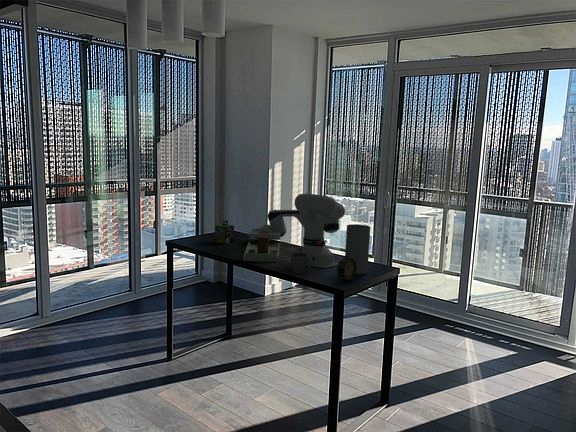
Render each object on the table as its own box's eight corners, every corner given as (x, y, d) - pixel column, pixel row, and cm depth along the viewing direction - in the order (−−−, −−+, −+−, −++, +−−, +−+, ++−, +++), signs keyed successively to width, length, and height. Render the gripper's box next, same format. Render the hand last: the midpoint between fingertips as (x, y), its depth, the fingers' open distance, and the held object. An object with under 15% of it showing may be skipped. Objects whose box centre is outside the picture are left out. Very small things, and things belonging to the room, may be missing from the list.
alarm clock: (343, 284, 239) (345, 252, 236) (334, 282, 243) (336, 250, 240) (356, 280, 247) (357, 249, 244) (347, 277, 251) (349, 247, 248)
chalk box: (224, 240, 327) (224, 218, 325) (234, 242, 322) (234, 220, 320) (214, 242, 320) (214, 220, 318) (224, 244, 315) (224, 222, 312)
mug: (287, 272, 257) (287, 254, 255) (296, 268, 264) (297, 251, 262) (306, 276, 250) (306, 258, 248) (315, 273, 257) (316, 255, 256)
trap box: (248, 246, 312) (248, 239, 312) (279, 247, 312) (279, 240, 312) (243, 260, 277) (243, 253, 276) (278, 261, 277) (278, 254, 276)
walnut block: (258, 251, 293) (259, 232, 291) (268, 252, 293) (269, 232, 291) (256, 257, 279) (257, 237, 277) (267, 258, 279) (267, 237, 277)
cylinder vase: (347, 267, 271) (350, 223, 266) (369, 270, 266) (372, 225, 262) (341, 273, 259) (343, 227, 255) (364, 276, 255) (367, 229, 250)
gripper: (281, 239, 319) (280, 244, 305) (249, 238, 319) (247, 243, 305) (281, 229, 317) (280, 234, 304) (250, 228, 318) (248, 233, 304)
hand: (264, 238), depth 304 cm, fingers closed
